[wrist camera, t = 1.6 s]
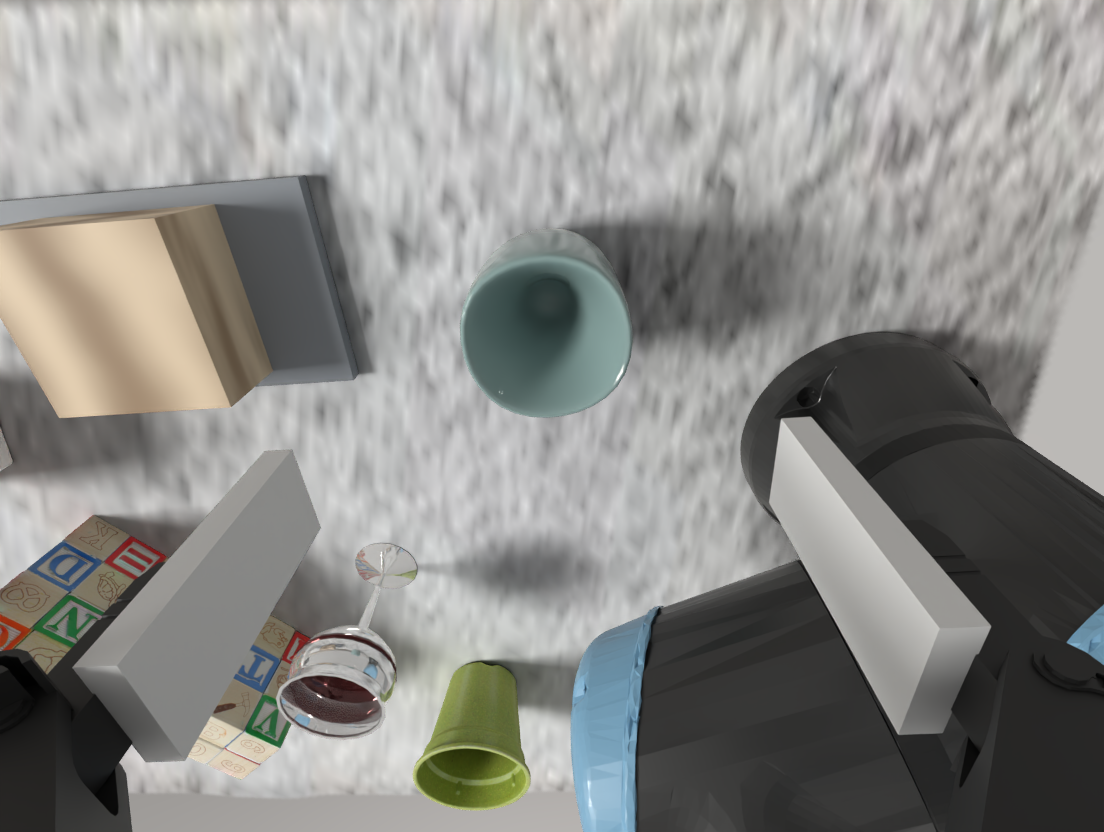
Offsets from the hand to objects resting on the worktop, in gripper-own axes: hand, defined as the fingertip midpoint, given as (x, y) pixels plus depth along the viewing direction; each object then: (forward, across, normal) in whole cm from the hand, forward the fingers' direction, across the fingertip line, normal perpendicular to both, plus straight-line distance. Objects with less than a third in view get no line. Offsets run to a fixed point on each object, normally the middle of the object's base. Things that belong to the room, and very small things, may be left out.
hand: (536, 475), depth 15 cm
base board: (+20, +23, -1) cm, 30 cm away
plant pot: (+20, +9, +37) cm, 43 cm away
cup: (+20, 0, 0) cm, 20 cm away
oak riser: (+19, +23, -1) cm, 30 cm away
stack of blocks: (+20, +32, +25) cm, 45 cm away
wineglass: (+20, +15, +22) cm, 33 cm away
